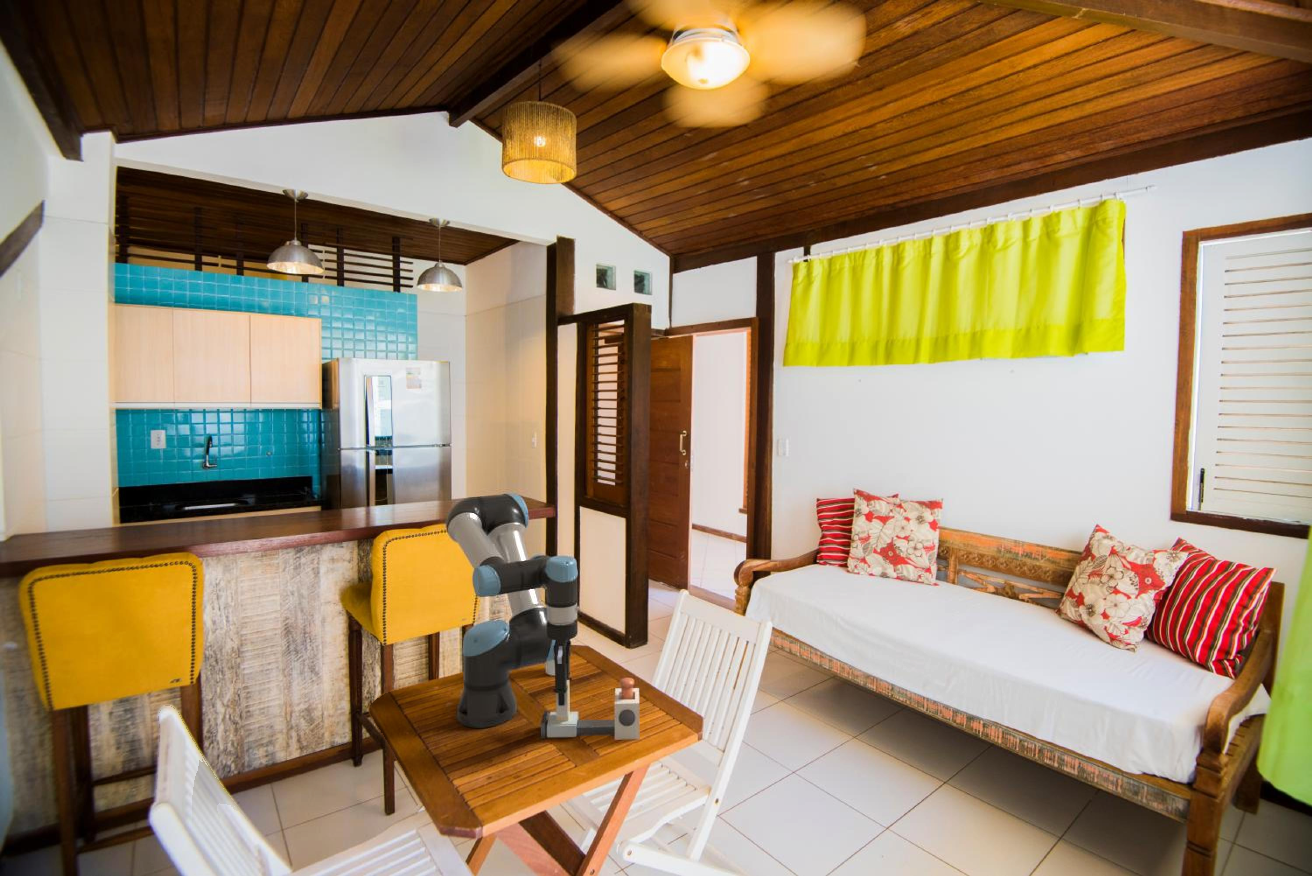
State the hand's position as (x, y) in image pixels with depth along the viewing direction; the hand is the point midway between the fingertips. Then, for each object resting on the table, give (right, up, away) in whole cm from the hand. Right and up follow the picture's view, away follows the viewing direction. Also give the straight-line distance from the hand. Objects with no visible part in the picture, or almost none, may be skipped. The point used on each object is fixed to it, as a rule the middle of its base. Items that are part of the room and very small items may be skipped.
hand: (562, 712), depth 154 cm
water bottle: (-6, -3, +34) cm, 35 cm away
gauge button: (+16, +1, +1) cm, 16 cm away
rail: (+5, -5, 0) cm, 7 cm away
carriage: (0, -5, 0) cm, 5 cm away
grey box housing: (+16, -5, +1) cm, 17 cm away
